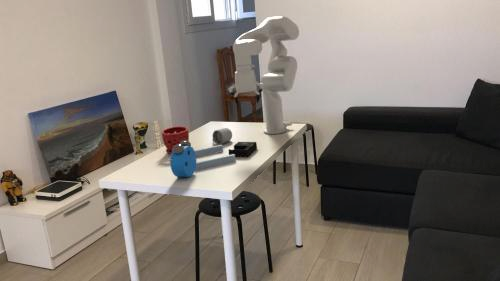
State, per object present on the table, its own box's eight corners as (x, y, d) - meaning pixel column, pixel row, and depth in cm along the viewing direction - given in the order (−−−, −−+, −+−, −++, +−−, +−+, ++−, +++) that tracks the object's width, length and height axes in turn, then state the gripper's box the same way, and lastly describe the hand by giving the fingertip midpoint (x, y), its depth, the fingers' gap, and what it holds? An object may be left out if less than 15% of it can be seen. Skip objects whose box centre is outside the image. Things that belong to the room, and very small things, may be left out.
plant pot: (159, 154, 227) (156, 131, 224) (180, 147, 236) (176, 125, 233) (175, 158, 218) (172, 134, 215) (196, 150, 227) (193, 127, 224)
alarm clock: (185, 170, 199) (181, 138, 195) (198, 170, 197) (194, 137, 193) (172, 181, 187) (167, 147, 183) (186, 182, 185) (180, 147, 181)
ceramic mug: (234, 141, 237) (232, 126, 235) (223, 145, 231) (221, 130, 229) (219, 139, 244) (217, 125, 242) (208, 143, 238) (206, 129, 236)
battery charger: (239, 149, 223) (238, 141, 222) (257, 149, 220) (256, 141, 219) (229, 157, 212) (228, 149, 210) (248, 158, 208) (247, 150, 207)
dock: (222, 150, 223) (221, 144, 222) (235, 161, 205) (235, 154, 204) (185, 158, 217) (184, 152, 216) (196, 169, 199) (195, 163, 198)
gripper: (262, 65, 217) (265, 100, 222) (226, 69, 218) (230, 103, 223) (262, 67, 210) (265, 103, 215) (225, 71, 211) (229, 107, 215)
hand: (247, 103), depth 219 cm, fingers open, 9 cm apart
